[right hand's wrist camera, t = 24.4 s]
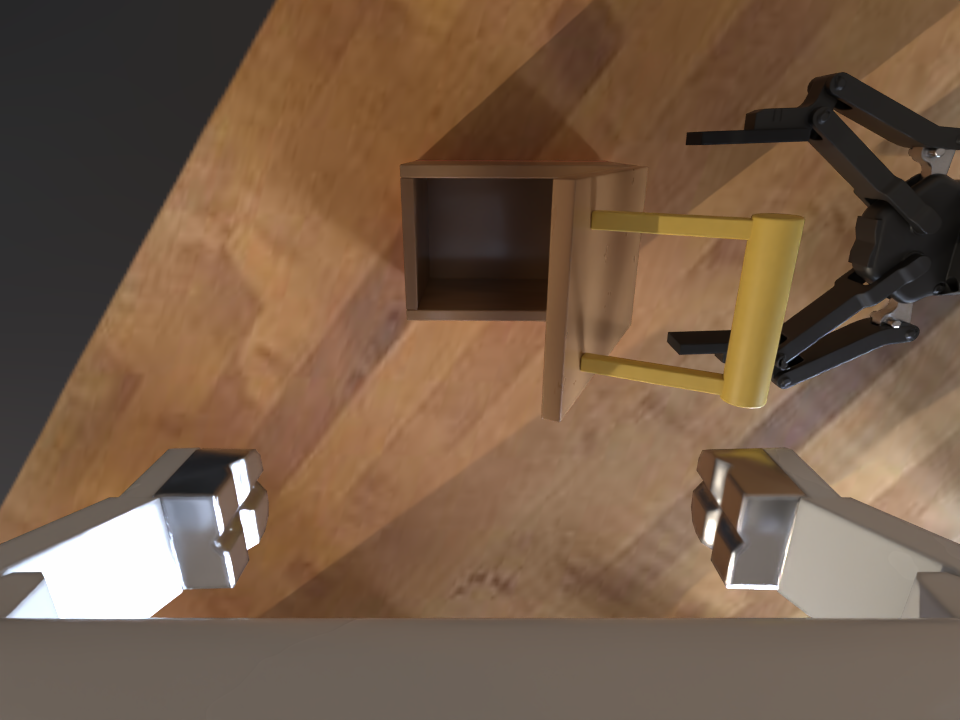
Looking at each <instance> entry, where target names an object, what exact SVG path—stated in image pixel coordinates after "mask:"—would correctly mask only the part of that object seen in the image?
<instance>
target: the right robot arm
mask: <svg viewBox="0 0 960 720" xmlns="http://www.w3.org/2000/svg"><path fill="white" fill-rule="evenodd" d="M262 472H263V466H262V461H261V456H260V454H259V453H258V452H257V450H256V449H221V448H202V449H201V448H174V449H168V450H167V451H166V452H165V453H164V454H163V455H162V456H161V457H160V458H159V459H158V460H157V461H156V462H155V463H154V464H153V465H152V466H151V467H150V468H149V469H148V470H147V471H146V472H145V473H144V474H142V475H141V476H140V477H139V478H138V479H137V480H136V481H135V482H134V483H133V484H132V485H131V486H130V487H129V488H128V489H127V490H126V491H125V492H124V493H123V494H122V495H121V496H120V497H115V498H107V499H105V500H103V501H100V502H98V503H96V504H93V505H91V506H88V507H86V508H84V509H81V510H79V511H77V512H74V513H72V514H70V515H67V516H65V517H63V518H60V519H58V520H56V521H53V522H51V523H49V524H46V525H44V526H42V527H39V528H37V529H35V530H32V531H30V532H28V533H25V534H23V535H21V536H18V537H16V538H14V539H11V540H9V541H7V542H4V543H2V544H0V720H960V544H958V543H956V542H953V541H951V540H949V539H946V538H944V537H942V536H939V535H937V534H935V533H932V532H930V531H928V530H925V529H923V528H920V527H918V526H916V525H913V524H911V523H909V522H906V521H904V520H902V519H899V518H897V517H895V516H892V515H890V514H888V513H885V512H883V511H881V510H878V509H876V508H874V507H871V506H869V505H867V504H864V503H862V502H860V501H857V500H855V499H853V498H845V497H840V496H839V495H838V494H837V493H836V492H835V491H834V490H833V489H832V488H831V487H830V486H829V485H828V484H827V483H826V482H825V481H824V480H823V479H822V478H821V477H820V476H819V475H818V474H817V473H816V472H815V471H814V470H812V469H811V468H810V467H809V466H808V465H807V464H806V463H805V462H804V461H803V460H802V459H801V458H800V457H799V456H798V455H797V454H796V453H795V452H794V451H793V450H791V449H788V448H785V447H784V448H753V449H712V450H702V452H701V454H700V457H699V459H698V465H697V472H698V473H699V475H700V476H701V478H702V479H703V481H702V482H701V483H700V484H699V486H698V487H697V488H696V489H695V490H694V491H693V496H692V504H691V511H692V522H693V525H694V528H695V532H696V534H697V536H698V538H699V540H700V541H701V543H703V544H704V545H706V546H707V547H709V548H711V549H712V556H711V561H712V563H713V565H714V567H715V568H716V570H717V572H718V574H719V575H720V577H721V579H722V581H723V582H724V584H725V586H726V588H749V589H778V591H777V592H779V593H780V594H781V595H782V596H784V597H785V598H786V599H788V600H789V601H790V602H792V603H793V604H794V605H795V606H797V607H798V608H799V609H801V610H802V611H803V612H805V613H806V614H807V615H808V616H810V617H811V618H149V617H150V616H152V615H153V614H154V613H156V612H157V611H158V610H159V609H161V608H162V607H163V606H165V605H166V604H167V603H169V602H170V601H171V600H173V599H174V598H175V597H176V596H178V595H179V594H180V593H182V589H210V588H234V586H235V584H236V583H237V581H238V579H239V577H240V575H241V574H242V572H243V570H244V568H245V567H246V565H247V563H248V561H249V556H248V549H249V548H251V547H253V546H254V545H256V544H257V543H259V541H260V540H261V538H262V536H263V534H264V532H265V529H266V524H267V520H268V516H269V502H268V495H267V491H266V490H265V489H264V488H263V487H262V486H261V485H260V483H259V482H258V481H257V479H258V478H259V476H260V475H261V473H262Z"/></svg>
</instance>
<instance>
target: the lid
mask: <svg viewBox="0 0 960 720" xmlns="http://www.w3.org/2000/svg"><path fill="white" fill-rule="evenodd" d="M647 174H648V166H630V167H624V168H617V169H611V170H604V171H598V172H591V173H585V174H578V175H571V176H565V177H558V178H554V179H553V193H552V213H551V233H550V253H549V272H548V292H547V312H546V332H545V352H544V372H543V392H542V412H541V418H542V419H546V420H551V421H556V422H560V421H561V420H562V419H563V417H564V416H565V415H566V413H567V412H568V410H569V409H570V408H571V406H572V405H573V404H574V402H575V401H576V399H577V398H578V397H579V395H580V394H581V393H582V391H583V390H584V389H585V387H586V386H587V384H588V383H589V382H590V380H591V379H592V378H593V376H594V375H595V374H600V375H606V376H612V377H618V378H623V379H629V380H635V381H641V382H647V383H653V384H658V385H664V386H670V387H676V388H682V389H688V390H693V391H699V392H705V393H711V394H717V395H720V397H721V399H722V400H723V401H725V402H727V403H729V404H731V405H734V406H738V407H742V408H760V407H763V406H764V405H765V404H766V401H767V396H768V392H769V387H770V382H771V378H772V373H773V368H774V363H775V359H776V354H777V349H778V345H779V340H780V335H781V330H782V326H783V321H784V316H785V312H786V307H787V302H788V298H789V293H790V288H791V283H792V279H793V274H794V269H795V265H796V260H797V255H798V251H799V246H800V241H801V236H802V232H803V227H804V222H805V218H804V217H802V216H797V215H790V214H775V213H760V214H754V215H752V217H751V218H742V217H723V216H703V215H684V214H665V213H645V212H643V211H644V202H645V192H646V183H647ZM641 233H652V234H667V235H682V236H697V237H713V238H728V239H743V240H747V244H746V250H745V255H744V261H743V267H742V272H741V278H740V284H739V289H738V295H737V300H736V306H735V312H734V317H733V323H732V329H731V334H730V340H729V345H728V351H727V357H726V362H725V368H724V374H719V373H713V372H707V371H700V370H694V369H687V368H681V367H675V366H668V365H662V364H656V363H649V362H643V361H636V360H630V359H624V358H617V357H611V356H609V354H610V353H611V351H612V350H613V349H614V347H615V346H616V345H617V343H618V342H619V340H620V339H621V338H622V336H623V335H624V334H625V332H626V331H627V329H628V328H629V327H630V325H631V321H632V312H633V303H634V294H635V285H636V275H637V266H638V257H639V248H640V238H641Z"/></svg>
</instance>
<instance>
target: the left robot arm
mask: <svg viewBox="0 0 960 720" xmlns="http://www.w3.org/2000/svg"><path fill="white" fill-rule="evenodd" d="M807 91H808V95H807V97H806V99H805V101H804V102H803V103H802V104H801V105H800V106H799V107H797V108H775V109H760V110H754V111H752V112H749V113H747V114H746V119H745V126H744V130H735V131H707V132H688V133H687V137H686V145H716V144H744V143H772V142H800V141H808V142H809V143H810V144H811V145H812V146H813V147H814V148H815V149H816V150H817V151H818V152H819V153H820V154H821V155H822V156H823V157H824V158H825V159H826V160H827V161H828V162H829V163H830V164H831V165H832V166H833V167H834V168H835V169H836V170H837V172H838V173H839V174H840V175H841V176H842V177H843V178H844V179H845V180H846V181H847V182H848V183H849V184H850V185H851V186H852V187H853V188H854V193H855V194H856V195H857V196H858V197H859V198H860V199H861V200H862V201H863V202H864V203H865V204H866V205H867V206H868V208H867V209H866V210H865V211H864V213H863V215H862V216H858V218H857V223H856V241H855V243H854V245H853V247H852V249H851V251H850V256H849V261H848V262H851V263H852V266H853V268H852V269H851V270H849V271H848V272H847V273H845V274H844V275H843V276H841V277H840V278H839V279H837V280H836V281H835V285H834V287H833V288H831V289H830V290H829V291H827V292H826V293H824V294H823V295H822V296H820V297H819V298H818V299H816V300H815V301H814V302H812V303H811V304H809V305H808V306H807V307H805V308H804V309H803V310H801V311H800V312H799V313H797V314H796V315H794V316H793V317H792V318H790V319H789V320H788V321H786V322H785V323H784V324H783V326H782V330H781V335H780V340H779V345H778V349H777V354H776V359H775V363H774V368H773V373H772V378H771V381H772V382H773V383H774V384H776V385H777V386H778V387H780V388H781V389H786V388H789V387H792V386H794V385H796V384H798V383H800V382H803V381H805V380H807V379H809V378H812V377H814V376H816V375H818V374H821V373H823V372H825V371H827V370H830V369H832V368H834V367H836V366H839V365H841V364H843V363H845V362H848V361H850V360H852V359H854V358H857V357H859V356H861V355H863V354H866V353H868V352H870V351H872V350H875V349H877V348H879V347H881V346H884V345H889V344H896V343H904V342H910V341H913V340H915V339H916V338H917V337H918V335H919V328H918V327H917V326H915V325H912V324H910V321H911V314H912V307H913V302H916V301H918V300H920V299H922V298H924V297H927V296H933V295H960V180H954V179H952V178H950V177H949V176H947V172H948V170H949V167H950V164H951V161H952V159H953V156H954V153H955V151H956V150H960V128H952V127H941V126H938V125H936V124H934V123H932V122H931V121H929V120H927V119H925V118H924V117H922V116H920V115H919V114H917V113H915V112H913V111H912V110H910V109H908V108H906V107H905V106H903V105H901V104H899V103H898V102H896V101H894V100H893V99H891V98H889V97H887V96H886V95H884V94H882V93H880V92H879V91H877V90H875V89H873V88H872V87H870V86H868V85H866V84H865V83H863V82H861V81H860V80H858V79H856V78H854V77H853V76H851V75H849V74H847V73H844V72H841V73H835V74H830V75H825V76H821V77H816V78H814V79H812V80H811V82H810V83H809V85H808V89H807ZM833 110H835V111H837V112H839V113H840V114H842V115H844V116H846V117H848V118H849V119H851V120H853V121H855V122H856V123H858V124H860V125H862V126H864V127H865V128H867V129H869V130H871V131H872V132H874V133H876V134H878V135H880V136H881V137H883V138H885V139H887V140H888V141H890V142H892V143H894V144H896V145H899V146H902V147H907V148H910V149H909V151H908V154H909V156H911V157H912V159H913V160H914V161H916V162H919V163H920V164H921V167H922V171H921V173H920V174H917V175H915V176H913V177H911V178H910V179H908V180H907V181H904V180H902V179H900V178H898V177H896V176H894V175H893V174H892V173H891V172H890V171H889V170H888V168H887V167H886V166H885V165H884V164H883V163H882V162H881V161H880V160H879V159H878V158H877V157H876V156H875V155H874V154H873V153H872V151H871V150H870V149H869V148H868V147H867V146H866V145H865V144H864V143H863V142H862V141H861V140H860V139H859V138H858V137H857V136H856V135H855V133H854V132H853V131H852V130H851V129H850V128H849V127H848V126H847V125H846V124H845V123H844V122H843V121H842V120H841V119H840V118H839V116H838V115H837V114H836V113H835V112H834V111H833ZM865 282H867V283H869V285H863V283H865ZM885 298H888V299H890V301H889V303H888V305H887V306H886V307H885V308H884V309H881V310H879V311H873V312H872V313H871V314H870V318H866V319H862V320H859V321H856V322H853V323H851V324H849V325H847V326H844V327H842V328H840V329H838V330H836V331H834V332H831V331H832V330H834V329H835V328H836V327H838V326H839V325H841V324H842V323H844V322H845V321H846V320H848V319H849V318H851V317H852V316H853V315H855V314H856V313H858V312H859V311H860V310H862V309H863V308H866V307H872V306H874V305H876V304H878V303H879V302H881V301H882V300H884V299H885ZM829 332H831V333H829ZM828 333H829V334H828ZM730 334H731V330H721V331H689V332H668V338H667V342H668V343H669V344H670V345H671V346H672V347H673V349H674V350H675V351H676V352H677V353H678V354H679V355H685V354H715V356H716V357H717V358H718V359H719V360H720V361H721V362H723V363H725V362H726V357H727V351H728V345H729V340H730Z"/></svg>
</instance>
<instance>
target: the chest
mask: <svg viewBox="0 0 960 720" xmlns="http://www.w3.org/2000/svg"><path fill="white" fill-rule="evenodd" d="M630 166H637V165H629V164H621V163H614V162H608V161H513V160H416V161H413V162H409V163H405V164H401V165H400V177H401V179H400V180H401V202H402V224H403V247H404V269H405V291H406V309H407V311H406V312H407V320H413V321H546V312H547V292H548V272H549V253H550V233H551V213H552V193H553V179H554V178H558V177H565V176H571V175H578V174H585V173H591V172H598V171H604V170H611V169H617V168H624V167H630Z"/></svg>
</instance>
